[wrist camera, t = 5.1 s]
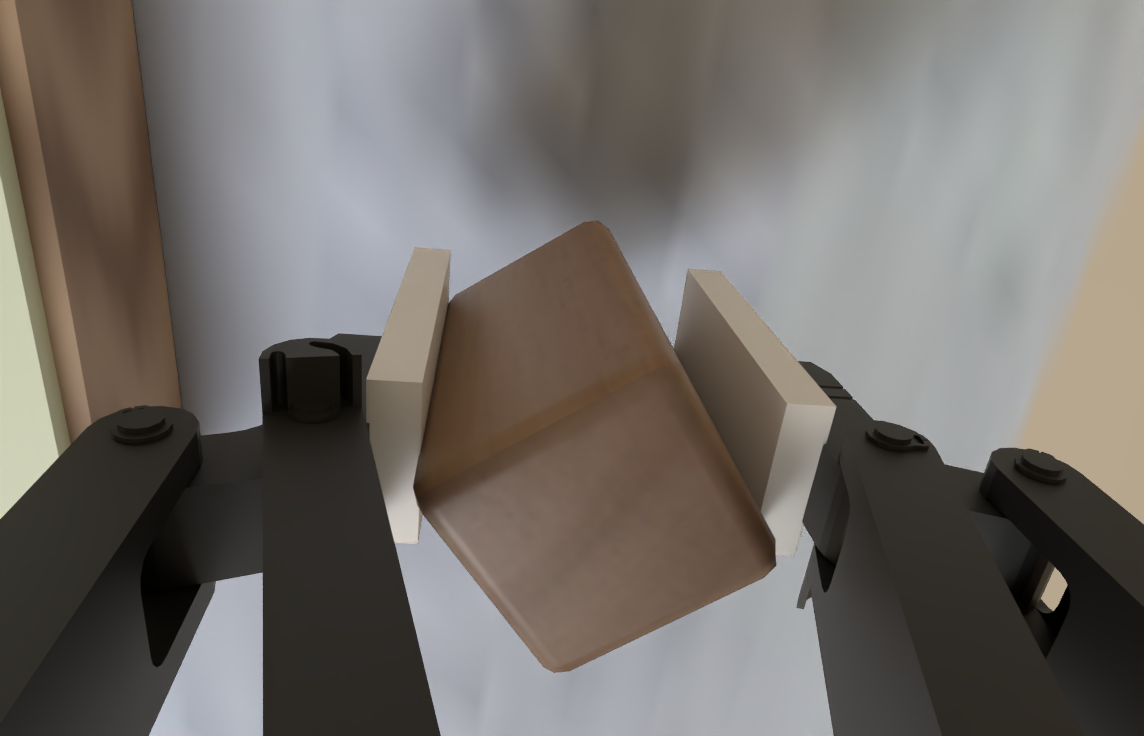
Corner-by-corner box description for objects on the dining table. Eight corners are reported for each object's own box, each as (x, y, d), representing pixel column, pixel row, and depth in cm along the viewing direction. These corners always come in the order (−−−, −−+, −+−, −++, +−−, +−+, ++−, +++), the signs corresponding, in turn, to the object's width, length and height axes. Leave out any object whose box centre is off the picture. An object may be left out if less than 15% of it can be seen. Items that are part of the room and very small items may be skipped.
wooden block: (677, 354, 18) (795, 576, 11) (530, 432, 19) (550, 692, 11) (597, 208, 17) (675, 353, 9) (440, 298, 17) (396, 501, 10)
